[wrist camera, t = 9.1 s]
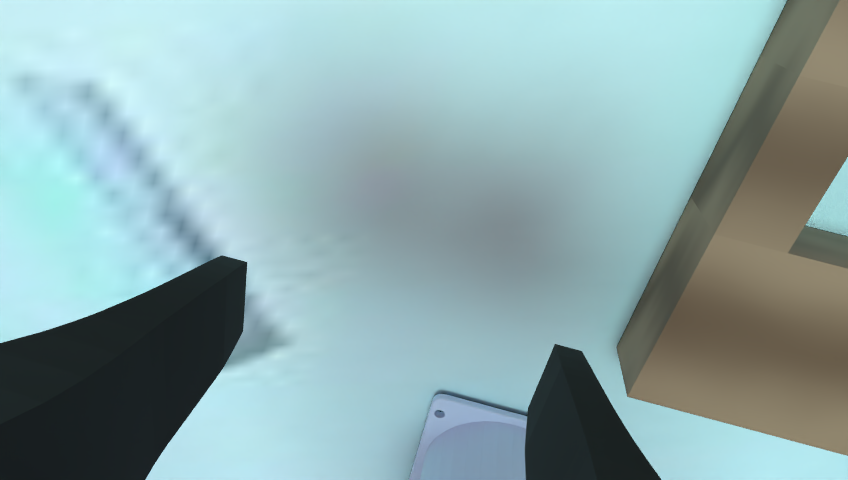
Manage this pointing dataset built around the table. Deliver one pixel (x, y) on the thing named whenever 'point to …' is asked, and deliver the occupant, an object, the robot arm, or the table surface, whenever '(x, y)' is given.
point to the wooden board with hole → (760, 255)
